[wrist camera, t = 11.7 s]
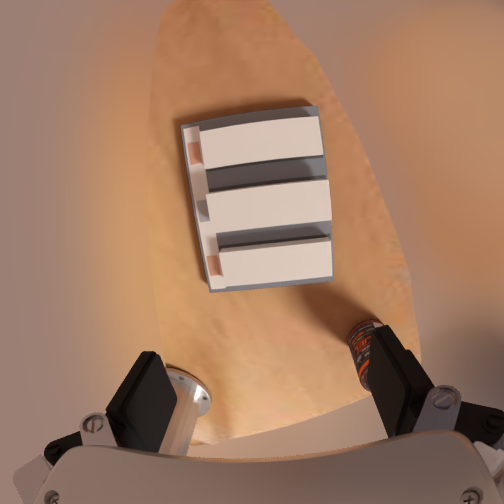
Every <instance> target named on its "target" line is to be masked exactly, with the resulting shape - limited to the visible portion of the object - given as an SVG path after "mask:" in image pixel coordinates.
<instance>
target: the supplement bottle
mask: <svg viewBox="0 0 504 504" xmlns="http://www.w3.org/2000/svg"><path fill="white" fill-rule="evenodd" d="M380 326H384V324H383V323H381V322H379V321H376V320H368V321H364V322H362V323H360V324H358V325H357V326H356V327H355V328H354V329H353V330H352V331H351V333H350V335H349V337H348V344H349V348H350V351H351V354H352V357H353V360H354V364H355V367H356V370H357V373H358V377H359V380H360V383H361V385H362V386H363V388H364V389H366V390H367V391H370V388H369V386H368V383H367V372H368V363H369V352H370V339H371V332H372V331H375V328H376V327H380ZM370 392H371V391H370Z"/></svg>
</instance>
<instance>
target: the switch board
mask: <svg viewBox="0 0 504 504" xmlns="http://www.w3.org/2000/svg"><path fill="white" fill-rule="evenodd" d="M314 116H318V119H319V126H320V132H321V140H322V147H323V155H316V156H304V157H293V158H283V159H274V160H266V161H258V162H250V163H243V164H236V165H230V166H223V167H217V168H211V169H205V167H204V160H203V154H202V147H201V140H200V133H199V132H201V131H206V130H211V129H217V128H222V127H228V126H234V125H240V124H247V123H254V122H262V121H270V120H279V119H289V118H300V117H314ZM181 133H182V140H183V147H184V154H185V161H186V168H187V174H188V180H189V187H190V193H191V198H192V204H193V210H194V216H195V221H196V227H197V232H198V237H199V242H200V248H201V253H202V258H203V263H204V268H205V272H206V277H207V282H208V287H209V291H210V293H214V292H227V291H240V290H251V289H262V288H273V287H283V286H293V285H302V284H312V283H321V282H329V281H334V266H333V242H332V225H331V220H330V221H319V222H310V223H300V224H290V225H281V226H272V227H263V228H254V229H245V230H237V231H229V232H220V233H212V229H211V223H210V217H209V211H208V205H207V199H206V194H208V193H211V192H217V191H224V190H231V189H238V188H246V187H253V186H261V185H270V184H278V183H287V182H297V181H308V180H319V179H327V180H328V178H327V168H326V159H325V151H324V144H323V136H322V129H321V122H320V116H319V110H318V106H305V107H292V108H282V109H272V110H264V111H256V112H249V113H242V114H236V115H230V116H224V117H219V118H213V119H208V120H203V121H199V122H194V123H190V124H185V125H181ZM324 237H329V239H330V240H331V251H332V276H328V277H319V278H310V279H301V280H291V281H281V282H271V283H261V284H250V285H239V286H227V287H225V284H224V278H223V273H222V268H221V262H220V257H219V252H220V250H221V249H222V248H231V247H240V246H249V245H258V244H267V243H277V242H286V241H296V240H305V239H315V238H324Z"/></svg>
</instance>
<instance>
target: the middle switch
mask: <svg viewBox="0 0 504 504" xmlns="http://www.w3.org/2000/svg"><path fill="white" fill-rule="evenodd" d="M206 199H207V205H208V211H209V217H210V223H211V229H212V233H220V232H229V231H237V230H245V229H254V228H263V227H272V226H281V225H290V224H300V223H310V222H319V221H330V220H332V214H331V202H330V190H329V180H327V179H319V180H308V181H297V182H287V183H278V184H270V185H261V186H253V187H246V188H238V189H231V190H224V191H217V192H211V193H208V194H206Z"/></svg>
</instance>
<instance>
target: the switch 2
mask: <svg viewBox="0 0 504 504" xmlns="http://www.w3.org/2000/svg"><path fill="white" fill-rule="evenodd" d="M219 257H220V262H221V268H222V273H223V278H224V284H225V287H227V286H239V285H250V284H261V283H271V282H281V281H291V280H301V279H310V278H319V277H328V276H332V251H331V240H330V239H329V237H324V238H315V239H305V240H296V241H286V242H277V243H267V244H258V245H249V246H240V247H231V248H222V249H221V250H220V252H219Z"/></svg>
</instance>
